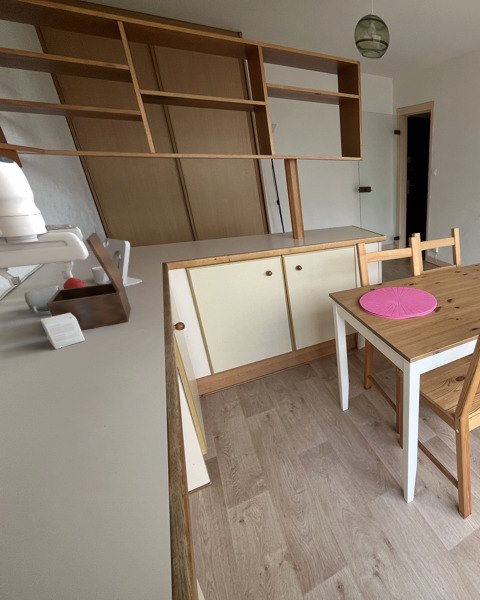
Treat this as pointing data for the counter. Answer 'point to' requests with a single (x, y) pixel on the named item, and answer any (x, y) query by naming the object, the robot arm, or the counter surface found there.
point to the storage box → (92, 305)
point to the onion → (73, 283)
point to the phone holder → (115, 262)
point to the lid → (105, 261)
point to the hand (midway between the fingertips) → (43, 281)
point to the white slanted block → (62, 330)
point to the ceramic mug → (40, 299)
